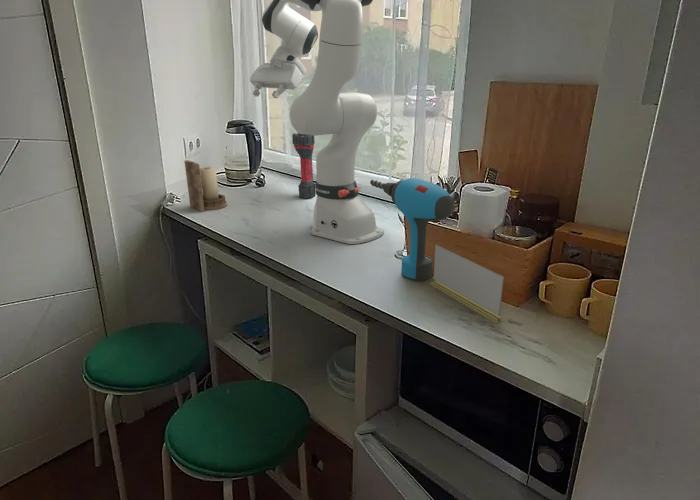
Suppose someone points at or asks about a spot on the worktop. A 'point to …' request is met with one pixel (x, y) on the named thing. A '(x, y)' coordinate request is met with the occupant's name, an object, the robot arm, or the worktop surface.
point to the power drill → (418, 219)
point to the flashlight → (305, 163)
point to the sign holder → (468, 283)
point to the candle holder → (200, 190)
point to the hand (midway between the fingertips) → (264, 96)
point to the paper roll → (209, 183)
